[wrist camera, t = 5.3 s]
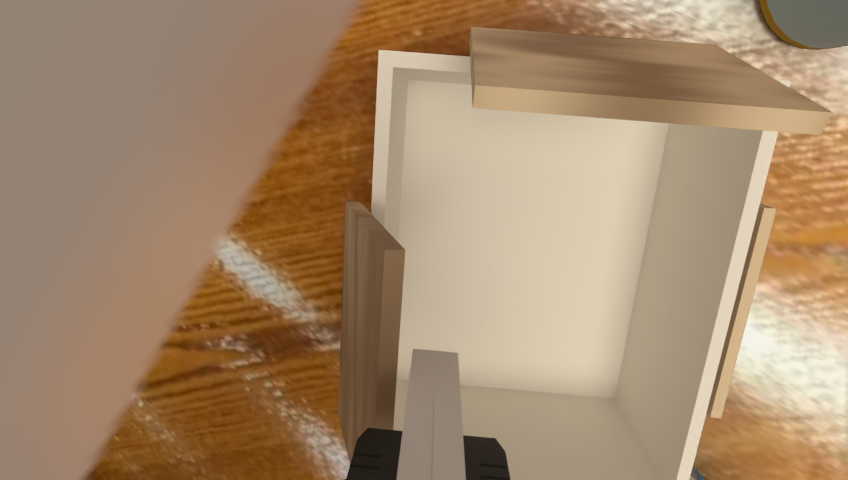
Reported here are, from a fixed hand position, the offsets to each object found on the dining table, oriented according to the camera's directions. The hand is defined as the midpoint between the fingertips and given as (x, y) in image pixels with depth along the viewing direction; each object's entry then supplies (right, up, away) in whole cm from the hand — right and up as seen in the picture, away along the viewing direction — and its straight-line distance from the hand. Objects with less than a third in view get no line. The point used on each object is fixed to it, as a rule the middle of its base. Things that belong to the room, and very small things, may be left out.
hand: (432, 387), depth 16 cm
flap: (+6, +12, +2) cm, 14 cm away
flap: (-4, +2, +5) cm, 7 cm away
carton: (+6, +4, +14) cm, 16 cm away
